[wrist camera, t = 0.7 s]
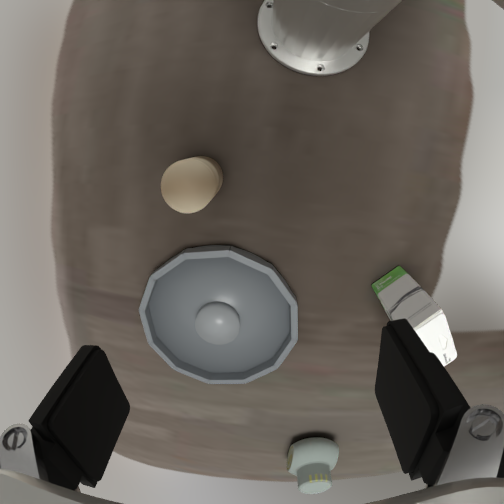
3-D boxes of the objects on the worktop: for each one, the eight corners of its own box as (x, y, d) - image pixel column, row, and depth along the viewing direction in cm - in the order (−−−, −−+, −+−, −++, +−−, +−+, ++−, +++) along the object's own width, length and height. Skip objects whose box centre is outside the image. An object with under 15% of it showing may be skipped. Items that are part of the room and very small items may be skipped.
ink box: (369, 284, 38) (403, 336, 27) (400, 263, 37) (443, 308, 26) (393, 327, 40) (424, 381, 29) (421, 308, 39) (459, 358, 28)
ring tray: (132, 250, 37) (125, 256, 35) (294, 239, 36) (295, 245, 34) (164, 372, 44) (160, 382, 42) (296, 370, 43) (297, 380, 41)
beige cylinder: (177, 158, 34) (157, 163, 27) (221, 153, 33) (210, 156, 27) (182, 201, 35) (164, 215, 29) (225, 197, 35) (216, 210, 28)
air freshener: (294, 429, 48) (297, 475, 39) (338, 429, 48) (347, 472, 39) (284, 459, 52) (286, 500, 43) (324, 459, 52) (329, 498, 43)
